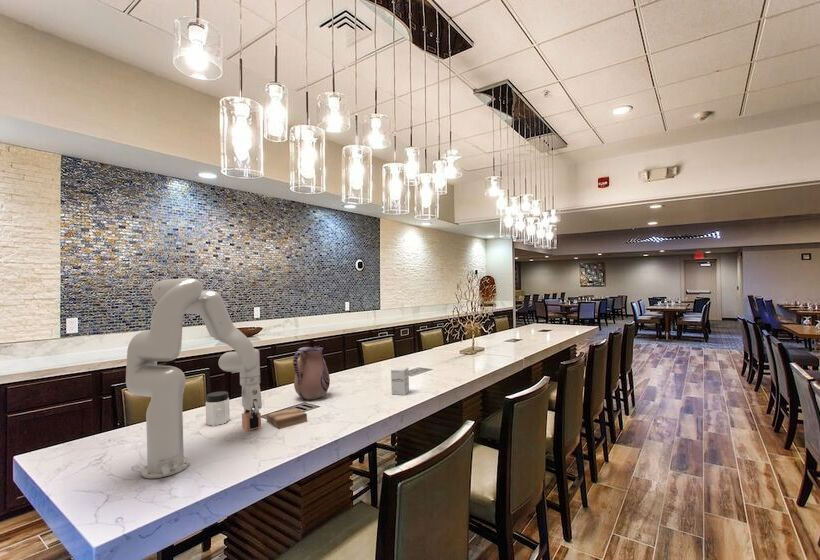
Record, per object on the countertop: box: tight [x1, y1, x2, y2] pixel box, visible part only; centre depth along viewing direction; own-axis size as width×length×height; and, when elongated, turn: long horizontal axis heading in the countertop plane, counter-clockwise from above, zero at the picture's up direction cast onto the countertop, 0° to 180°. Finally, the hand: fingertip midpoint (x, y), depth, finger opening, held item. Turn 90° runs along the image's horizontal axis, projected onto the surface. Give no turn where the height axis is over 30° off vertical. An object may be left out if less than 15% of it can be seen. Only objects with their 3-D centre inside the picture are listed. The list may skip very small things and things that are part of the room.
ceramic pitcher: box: [292, 346, 331, 401], centre depth 194 cm, size 18×21×25 cm
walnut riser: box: [266, 407, 308, 429], centre depth 160 cm, size 12×12×3 cm
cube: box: [241, 411, 262, 431], centre depth 155 cm, size 6×6×6 cm
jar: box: [205, 390, 231, 427], centre depth 163 cm, size 9×8×12 cm
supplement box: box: [390, 366, 410, 396], centre depth 197 cm, size 7×7×13 cm
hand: (251, 425), depth 155 cm, fingers closed on cube, 5 cm apart
